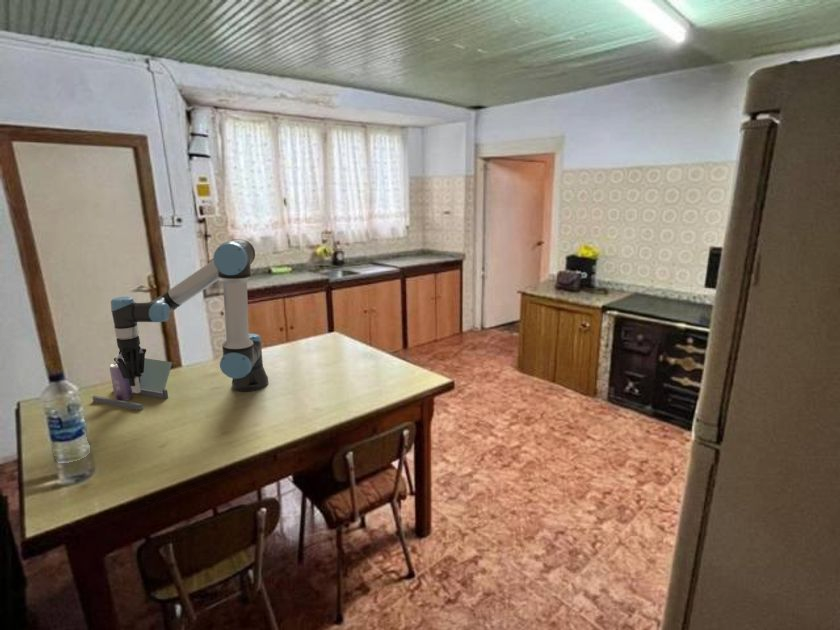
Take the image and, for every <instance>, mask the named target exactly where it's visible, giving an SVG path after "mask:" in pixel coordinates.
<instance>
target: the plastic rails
mask: <svg viewBox="0 0 840 630" xmlns="http://www.w3.org/2000/svg"><path fill="white" fill-rule="evenodd" d="M140 390H141V392H139V393H133V392H132V394H133V395H134V394H135V395H140V396H146V397H152V398H158V399H163V400H167V399H169V393H168V389H165V390H163V392H158V391H152V390H146V389H140ZM131 391H132V387H131ZM92 401H93V403H97V404H104V405H109V406H114V407H120V408H125V409H131V410H136V411H142V410H143V409H144V408H143V404H142V403H136V402H132V401H128V400H126V401H121V400H115V398H111V397H110V398H108V397H103V396H99V395H93V396H92Z"/></svg>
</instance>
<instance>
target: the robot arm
mask: <svg viewBox="0 0 840 630" xmlns="http://www.w3.org/2000/svg"><path fill="white" fill-rule="evenodd" d="M255 258H256V249H255V248H254V246H253V244H252V243H251V242H249V241H248V240H246V239H244V238H234V239H232V240H229V241H226V242H224V243H222V244H220V245H219V246H218V247H217V248H216V250H215V251H214V254H213V258H212V260H211V261H210V262H208V263H207V264H206V265H203V267H201V268H200V269H198V270H197V271H195V272H193V273H191V275H189V276H188V277H186V278H184V279H183V280H182V281H180V282H179V283H178V284H177V283H176V284H175V285H174V286H172V287H171V288H170V289H168V290H167V291H165V292H164V293H163V294H161V295H159V296H157V297H156V298H154V299H153V300H151V301H148V302H135V299H134V298H133V297H132V296H118V297H115V298H112V299H111V300H110V311H111V315H112V320H113V324H114V327H113V328H114V332H115V333H114V334H115V337H116V344H117V348H118V349H119V350H118V355H117V357H114V358H113V360H114V363H117V364H118V367H119V369H120V371H121V373H122V376H123V378H126V379H129V383H130V386H131V387H132V392H133V393H132V394H134V393H139V392H141V390H140V382H141V381H140V376H142V374H141V373H143V372H144V360H145V358H146V357H145V356H146V353H147V349H146V348H142V347H141V346H140V345H141V341H140V336H139V334H140V333H139V327H138V323H162V322H163V323H165V322H167V321H168V320H169V318H170V316H171V313H172V312H174V311H175V310H177V308H179V307H180V306H181V305H183V304H185V303H186V302H188V301H189V300H190V299H192V298H194V297H195V296H197V295H199V294H200V293H201V292H202V291H204V290H206V289H207V288H209V287H210V286H212V285H213V284H214V283H216V282H218V281H219V280H221V281H222V288H223V291H222V292H223V308H224V325H225V341H224V342H222V346H221V347H222V357H221V359H220V361H219V368H220V371H221V372H222V373H223V374H224V375H225V376H226V377H228V378H230V379H231V388H232V389H233V390H235V391H239V392H252V390H254V391H256V390H257V389H258V390H260V388H261V389H263V388H265V387H266V386H268V384H269V377H268V375H267V373H266V370H265V368H264V364H263V363H264V362H263V351H262V339H261V336H260V334H256V333H250V328H249V326H250V325H249V305H248V303H249V302H248V299H249V297H248V280H249V279H250V278H251V277H252V276H251V275H252V274H251V272H252V270H251V264H253V262H254V261H255ZM140 369H141V370H140ZM264 386H265V387H264ZM262 387H263V388H262Z"/></svg>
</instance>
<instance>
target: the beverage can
mask: <svg viewBox="0 0 840 630" xmlns="http://www.w3.org/2000/svg"><path fill="white" fill-rule="evenodd" d="M109 371H110V378H111V382H112V388H113V389H112V390H113V396H114V399H115V400H121V401H128V400H131V398H132V397H133V393H132V391H131V386H130V383H129V379H126V378H123V376H122V373H121V371H120V369H119V367H118V364H117V363H116V362H114V363H112V364H111V363H110V365H109Z"/></svg>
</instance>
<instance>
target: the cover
mask: <svg viewBox="0 0 840 630" xmlns="http://www.w3.org/2000/svg"><path fill="white" fill-rule="evenodd" d="M172 366H173V362H172V361H166V360H159V359H154V358H146V357H145V360H144V372H143V373H141V374H142V376H140V381H141V382H140V389H146V390H152V391H158V392H163V390H166V386H167V383H168V380H169V376H170V372H171V368H172ZM140 370H141V369H140Z"/></svg>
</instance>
